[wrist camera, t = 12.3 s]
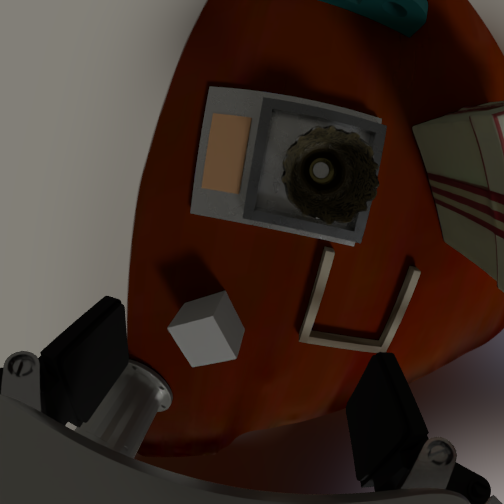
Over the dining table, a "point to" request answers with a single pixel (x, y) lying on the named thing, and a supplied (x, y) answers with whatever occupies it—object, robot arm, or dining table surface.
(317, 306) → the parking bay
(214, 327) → the white cube
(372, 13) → the bracket
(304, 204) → the cup
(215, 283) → the dining table surface
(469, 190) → the gift box
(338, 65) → the dining table surface
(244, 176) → the grey flat rectangular tray
